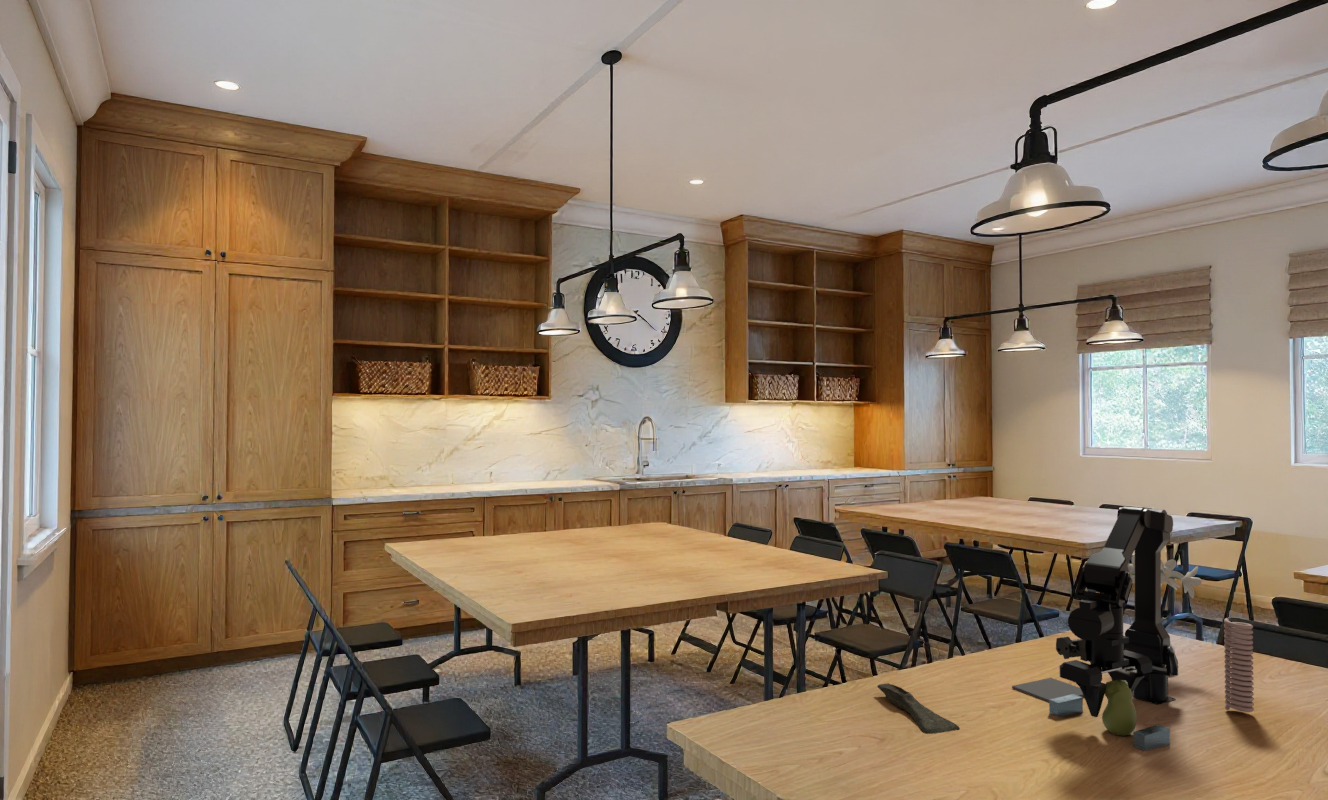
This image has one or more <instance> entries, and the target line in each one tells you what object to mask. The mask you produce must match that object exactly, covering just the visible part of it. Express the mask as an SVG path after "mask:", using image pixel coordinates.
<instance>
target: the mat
mask: <svg viewBox="0 0 1328 800" xmlns="http://www.w3.org/2000/svg"><path fill="white" fill-rule="evenodd" d="M1012 688H1013V690H1015V689H1016V690H1015V691H1018V692H1020V691H1021V693H1023V694H1026V695H1028V694H1029V695H1028V696H1032V697H1033V698H1034V697H1035V698H1036V699H1039V700H1042V701H1044V702H1048V703H1049V700H1050V699H1054V698H1058V697H1063V696H1067V695H1071V694H1075V695H1078V696H1080V697H1083V698H1084V695H1083V693H1082V691H1081V689H1080V687H1079V686H1076V685H1073V684H1071V683H1067V682H1064V681H1061V680H1058V679H1056V678H1053V677H1046V678H1043V679H1038V680H1037V679H1036V680H1032V681H1029V682H1025V683H1019V684H1015V685H1012V687H1011V689H1012Z"/></svg>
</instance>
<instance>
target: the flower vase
mask: <svg viewBox="0 0 1328 800" xmlns="http://www.w3.org/2000/svg"><path fill="white" fill-rule="evenodd" d="M1176 567H1177V561H1176V559H1169V560H1167V561H1166V562H1163V560H1162V559H1161V587H1162V586H1163V583H1165V584H1167V585H1169V586H1170V587H1171V588H1173V589H1174V590H1176V591H1178V588H1181V585H1179V583H1178V581H1177V580H1179V581H1181V582H1182V586H1183V592H1184V594H1187V593H1188V594H1189V596H1190V598H1191V599H1194V598H1195V590H1194V587H1198V586H1200V585H1201V584H1202V579H1201V578H1200V577H1195V576H1196V575H1197V573H1198V570H1199V566H1198V565H1197V566H1195V567H1194V568H1193V569H1192V570H1191V571H1187V572H1186V574H1185V575H1184V574H1182V573H1181V572H1179V571H1177V570H1174V569H1175V568H1176ZM1128 569H1129V573H1130V576H1131V578H1132V585H1135V554H1134V555H1133V554H1132V556H1131V563H1130V562H1129V563H1128ZM1170 646H1171V647H1172V648H1173V650H1174V653H1175V654H1176V649H1175V646H1174V645H1173V643H1172V642H1171V641H1170Z"/></svg>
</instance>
